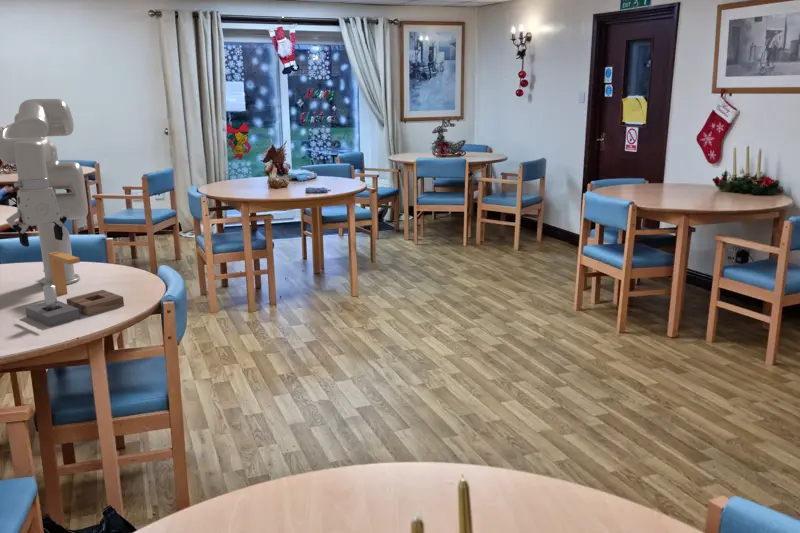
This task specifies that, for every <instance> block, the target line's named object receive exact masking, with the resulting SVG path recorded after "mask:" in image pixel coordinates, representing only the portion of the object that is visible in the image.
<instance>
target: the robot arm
mask: <svg viewBox="0 0 800 533" xmlns="http://www.w3.org/2000/svg"><path fill="white" fill-rule="evenodd" d="M73 132H74V120H73V116H72V112H71V110H70V107H69V105H68V104H67V102H65V101H63V100H62V99H61V98H32V99H31V98H30V99H26V100H23V102H21V103H20V105H19V107H18V112H17V113H16V114H15V115H14V122H13V123H11V124H8V125H7V126H5V127H3V129H1V130H0V160H1V162H2V163H3V164H6V165H15V166H16V172H17V173H16V174H17V181H16V182H14V183H13V186H14V188H18V190H17V194H16V195H17V196H16V209H17V211H16V212H15V213H13V214H12V215H10V216H9V217H7V218H6V223H8V225H9V226H10V228H11V229H13V230H14V231H16V232H17V233H18V239H19V244H20V245H21V246H23V247H26V248H28V247H29V246H30V242H29V236H28V235H29V234H28V233H27V232H26V231H27V230H28V228H29V227H35V226H36V227H37V232H38V239H39V244H40V250H41V252H40V253H41V258H42V259H41V260H42V266H43V271H42V272H43V273H44V277H42V278H41V279H40V284H41V285H43V286H44V285H47V284H53V283H52V276H51V269H50V262H49V255H48V253H52V252H62V253H65V254H68V255H72V256H73V254H72V253H73V252H72V245H71V244H72V243H71V237H70V233H69V230H68V229H67V227H66V226H64V224H65V223H66V221H72V220H75V221H76V220H83V219H85V218H87V216H88V214H89V206H88V198H87V196H88V195H87V190H86V181H85V175H84V174H85V173H84V171H83V167H82V165H80V163H79V162H77V161H71V160H69V161H68V160H67V161H60V160H59V159H58V151H57V147H56V145H55V143H53V141H52V140H51V139H50V138H49V137H67V136H71V135H72V133H73ZM55 190H70V191H71V192H60V193H59V192H56V193H55ZM16 220H18V222H19V225H17V223H16V222H15V221H16ZM63 264H64V271H65V279H66V285H70V284H74V283H76V282H78V281H80V279H81V277H80V275H79V274H78V273H75V267H74V266H75V265H74V264H70V265H69V264H66V263H63Z"/></svg>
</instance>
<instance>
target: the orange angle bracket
mask: <svg viewBox="0 0 800 533" xmlns="http://www.w3.org/2000/svg"><path fill="white" fill-rule="evenodd" d="M48 255H49V262H50V269H51V276H52V283H53V284H54V285H55V288H56V295H57V298H58V297H61V296H65V295H69V294H68V287H67V284H66V279H65V271H64V264H63V263H66V264H69V265H70V264H73V265H74V264H79V263H80V262H81V261H80V257H78V256H75V255H73V254H72V255H68V254H65V253H62V252H52V253H48Z"/></svg>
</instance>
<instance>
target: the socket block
mask: <svg viewBox="0 0 800 533" xmlns="http://www.w3.org/2000/svg"><path fill="white" fill-rule="evenodd" d="M124 302H125V299H124V296H122V295H119V294H117V293H113V292H111V291H108V290H105V289H100V290H96V291H93V292H89V293H88V292H87V293H84V294H81V295H77V296H73V297H69V298H66V304H68V305H70V306H73V307H75V308H78V309H79V314H81V315H84V316H87V317H90V316H93V315H98V314H100V313H104V312H107V311H111V310H114V309H119V308H121V307H125V303H124Z"/></svg>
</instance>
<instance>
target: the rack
mask: <svg viewBox="0 0 800 533" xmlns="http://www.w3.org/2000/svg"><path fill="white" fill-rule="evenodd" d="M57 303H58V309H56V310H52V311H49V312H48V311H46V304H45V301H44V302H42V303H41V302H40V303H36V304H33V305H29V306H25V313H26V317H27V318H29V319H31V320H33V321H36V322H39V323H40V324H43V325H45V326H47V327H50V328H51V327H54V326H57V325H61V324H65V323H68V322H69V323H70V322H71V321H75V320H79V319H80V318H81V317H80V313H79V309H78V308H75V307H73V306H70V305H68V304H67V303H65V302H62V301H60V300H57Z"/></svg>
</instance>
